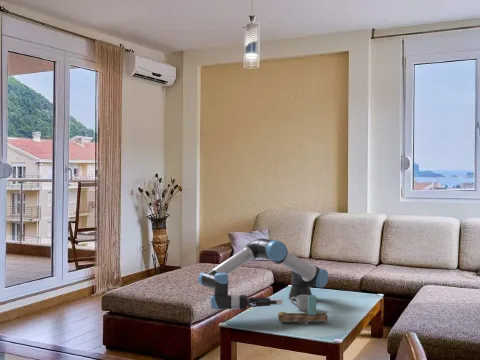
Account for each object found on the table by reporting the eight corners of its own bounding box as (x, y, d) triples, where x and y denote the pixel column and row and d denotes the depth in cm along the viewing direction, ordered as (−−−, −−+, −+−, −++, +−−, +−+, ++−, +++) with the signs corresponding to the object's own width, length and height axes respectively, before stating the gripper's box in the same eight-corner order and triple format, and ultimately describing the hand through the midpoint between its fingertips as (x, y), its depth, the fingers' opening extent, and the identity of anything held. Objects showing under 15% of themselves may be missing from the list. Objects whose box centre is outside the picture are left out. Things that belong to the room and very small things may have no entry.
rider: (308, 317, 286) (308, 296, 285) (307, 315, 290) (307, 295, 289) (316, 317, 286) (316, 296, 286) (314, 315, 290) (314, 295, 290)
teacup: (315, 308, 317) (316, 295, 317) (312, 313, 307) (312, 299, 307) (293, 306, 322) (293, 293, 322) (289, 311, 312) (289, 297, 311)
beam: (279, 324, 284) (279, 314, 284) (277, 321, 291) (277, 311, 291) (327, 324, 285) (327, 314, 285) (324, 320, 292) (325, 310, 292)
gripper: (238, 305, 293) (280, 305, 294) (239, 312, 280) (283, 311, 281) (238, 292, 293) (280, 292, 293) (239, 298, 279) (283, 297, 280)
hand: (282, 301), depth 287 cm, fingers closed
